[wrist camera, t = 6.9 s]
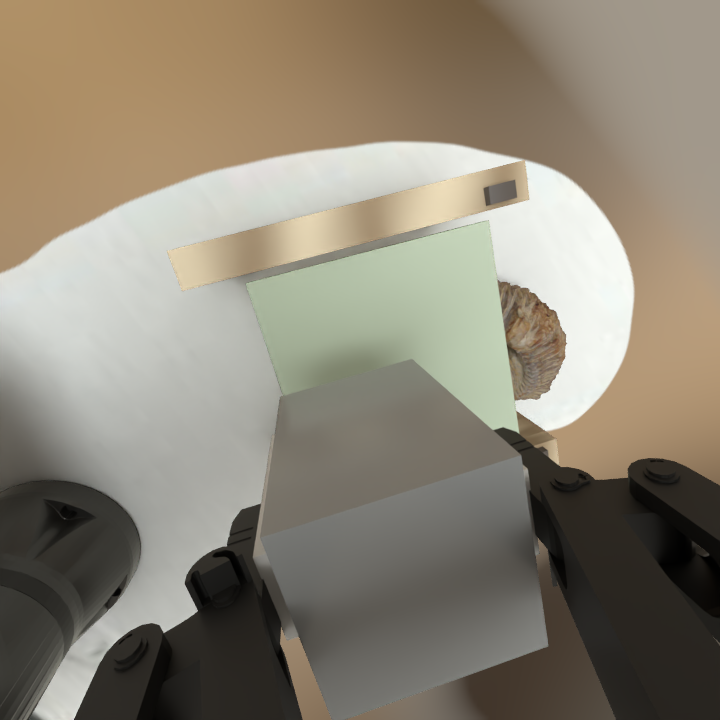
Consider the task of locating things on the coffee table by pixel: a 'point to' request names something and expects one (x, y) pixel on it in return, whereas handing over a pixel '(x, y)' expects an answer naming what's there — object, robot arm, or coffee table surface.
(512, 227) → the coffee table surface
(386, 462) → the grey rectangular block
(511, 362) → the seashell
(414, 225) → the frame
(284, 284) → the trapdoor
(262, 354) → the coffee table surface
